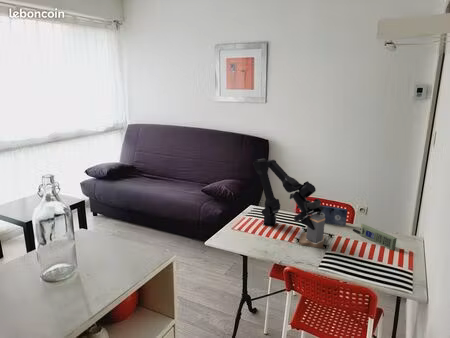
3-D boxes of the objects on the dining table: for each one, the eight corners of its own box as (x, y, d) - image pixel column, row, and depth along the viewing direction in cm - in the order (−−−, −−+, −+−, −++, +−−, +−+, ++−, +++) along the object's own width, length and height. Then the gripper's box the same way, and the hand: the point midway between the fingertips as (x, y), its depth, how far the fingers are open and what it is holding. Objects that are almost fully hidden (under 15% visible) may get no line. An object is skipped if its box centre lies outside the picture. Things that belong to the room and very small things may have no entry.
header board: (298, 244, 175) (299, 237, 174) (301, 234, 186) (301, 227, 185) (322, 248, 171) (323, 240, 170) (324, 238, 182) (324, 231, 181)
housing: (306, 238, 177) (308, 216, 173) (313, 235, 180) (315, 213, 177) (315, 242, 172) (318, 219, 169) (322, 239, 176) (325, 217, 173)
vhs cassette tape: (346, 224, 200) (347, 209, 197) (345, 226, 197) (347, 210, 195) (314, 219, 207) (315, 204, 205) (313, 221, 205) (314, 205, 202)
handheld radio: (391, 251, 169) (350, 232, 190) (395, 249, 171) (354, 231, 192) (393, 238, 168) (352, 221, 188) (397, 237, 169) (356, 220, 190)
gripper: (300, 198, 167) (317, 226, 162) (322, 190, 179) (338, 216, 174) (286, 208, 175) (302, 235, 170) (308, 200, 187) (324, 225, 181)
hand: (317, 228), depth 173 cm, fingers closed on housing, 6 cm apart
